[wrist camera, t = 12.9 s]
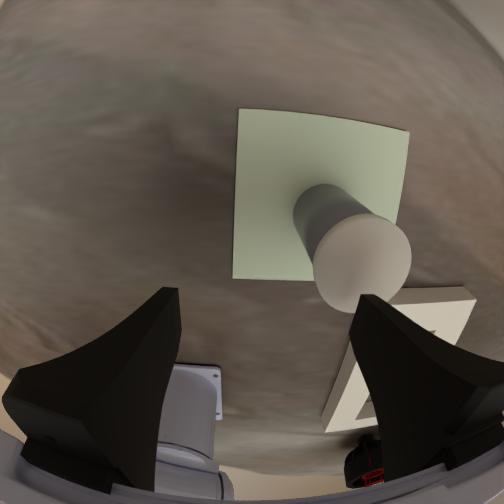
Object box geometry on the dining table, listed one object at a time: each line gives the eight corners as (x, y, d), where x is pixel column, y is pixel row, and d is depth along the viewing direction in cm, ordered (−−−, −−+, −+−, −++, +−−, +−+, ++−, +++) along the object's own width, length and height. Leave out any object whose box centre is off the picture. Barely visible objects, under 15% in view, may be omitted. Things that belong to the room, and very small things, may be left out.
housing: (402, 404, 31) (408, 417, 29) (320, 416, 31) (324, 432, 29) (463, 286, 23) (476, 299, 21) (365, 288, 23) (376, 305, 21)
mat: (378, 278, 23) (380, 281, 22) (232, 275, 22) (232, 278, 22) (406, 132, 18) (409, 132, 17) (239, 108, 17) (238, 108, 17)
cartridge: (353, 244, 21) (401, 306, 13) (290, 248, 21) (313, 318, 13) (357, 180, 19) (418, 217, 11) (289, 182, 19) (318, 221, 11)
